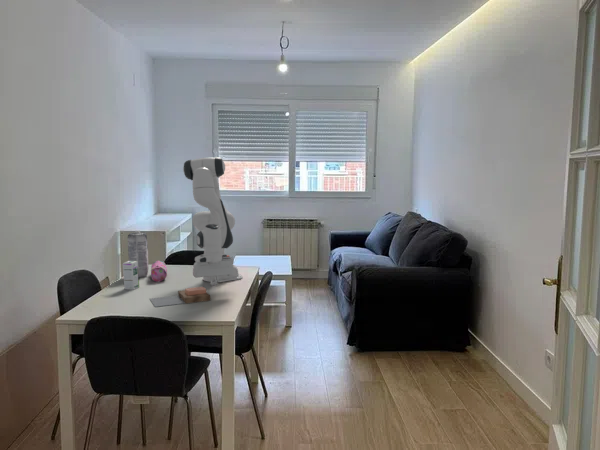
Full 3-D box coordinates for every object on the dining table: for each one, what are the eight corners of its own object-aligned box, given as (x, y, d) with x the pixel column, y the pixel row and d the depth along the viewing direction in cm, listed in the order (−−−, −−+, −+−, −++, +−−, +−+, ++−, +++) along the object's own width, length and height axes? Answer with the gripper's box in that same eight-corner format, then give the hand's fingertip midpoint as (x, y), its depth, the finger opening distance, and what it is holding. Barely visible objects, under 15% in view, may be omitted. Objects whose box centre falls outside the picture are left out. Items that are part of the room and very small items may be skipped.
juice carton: (147, 277, 304) (145, 231, 301) (128, 278, 302) (126, 232, 299) (149, 274, 313) (147, 229, 309) (131, 274, 311) (129, 230, 308)
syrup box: (134, 289, 274) (132, 262, 272) (123, 289, 275) (122, 262, 273) (139, 287, 279) (138, 260, 278) (129, 286, 280) (128, 260, 279)
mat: (178, 295, 260) (178, 295, 260) (185, 303, 245) (185, 302, 245) (149, 299, 254) (149, 298, 254) (155, 307, 239) (155, 306, 239)
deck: (201, 293, 265) (201, 288, 264) (210, 300, 250) (210, 295, 250) (178, 295, 260) (178, 290, 259) (185, 303, 245) (185, 298, 245)
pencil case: (167, 281, 293) (166, 265, 291) (150, 282, 290) (149, 266, 289) (167, 274, 313) (166, 259, 312) (151, 275, 311) (151, 260, 310)
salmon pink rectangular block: (203, 290, 260) (203, 286, 260) (206, 293, 254) (206, 289, 254) (185, 292, 256) (185, 288, 256) (188, 295, 251) (187, 291, 250)
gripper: (231, 255, 264) (232, 281, 265) (191, 257, 256) (192, 285, 257) (235, 256, 258) (235, 284, 260) (194, 259, 250) (195, 287, 251)
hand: (213, 284), depth 258 cm, fingers closed
